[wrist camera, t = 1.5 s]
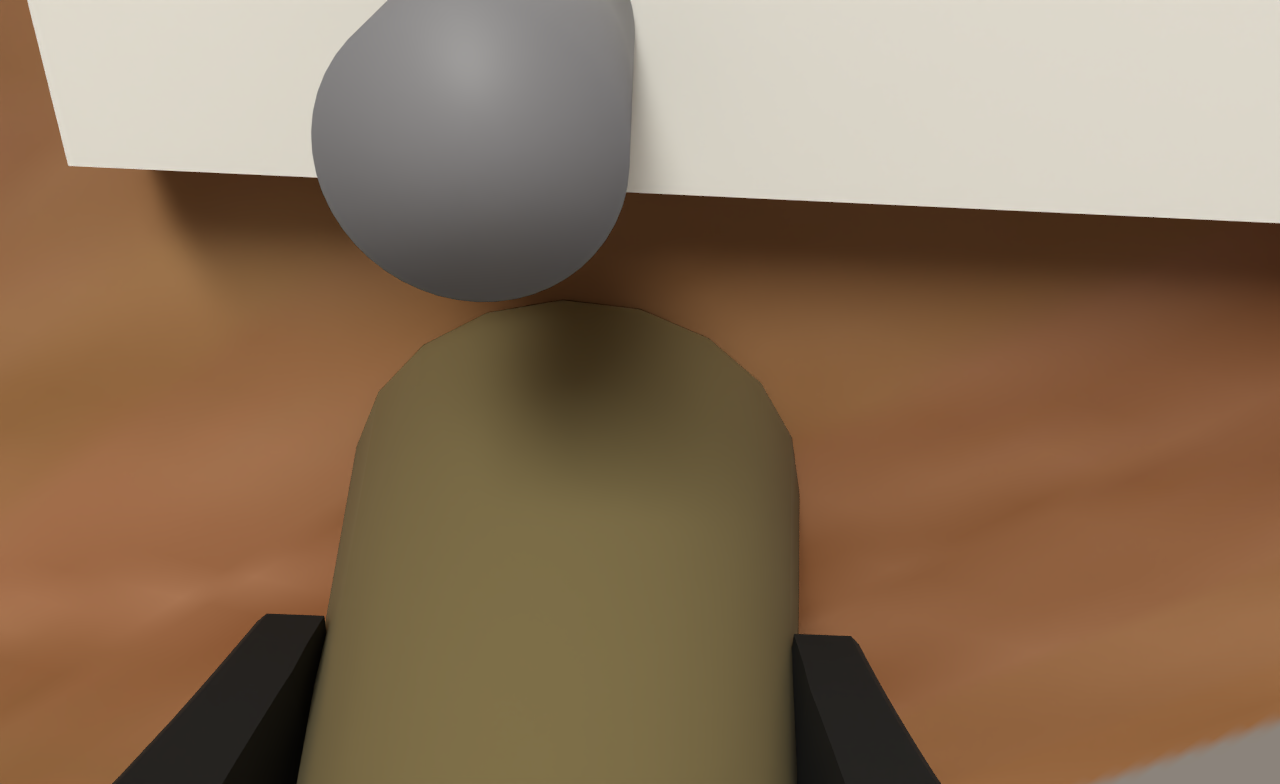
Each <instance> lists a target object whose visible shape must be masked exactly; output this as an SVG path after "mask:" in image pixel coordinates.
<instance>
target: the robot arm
mask: <svg viewBox="0 0 1280 784" xmlns="http://www.w3.org/2000/svg"><path fill="white" fill-rule="evenodd" d="M325 636H326V625H325V618H324V616H312V615H286V614H266V615H265V616H263V617H262V618H261V619H260V620H258V621H257V622H256V624H255V625H254V626H253V627H252V628H251V629H250V631H249V632H248V633H247V634H246V635H245V637H244V638H243V639H242V640H241V641H240V642H239V644H238V645H237V646H236V647H235V648H234V649H233V651H232V652H231V653H230V654H229V655H228V657H227V658H226V659H225V660H224V661H223V662H222V664H221V665H220V666H219V667H218V668H217V669H216V670H215V672H214V673H213V674H212V675H211V676H210V677H209V679H208V680H207V681H206V682H205V683H204V684H203V685H202V687H201V688H200V689H199V690H198V691H197V692H196V693H195V695H194V696H193V697H192V698H191V699H190V700H189V701H188V702H187V704H186V705H185V706H184V707H183V708H182V709H181V710H180V711H179V713H178V714H177V715H176V716H175V717H174V718H173V719H172V720H171V721H170V723H169V724H168V725H167V726H166V727H165V728H164V729H163V730H162V731H161V732H160V733H159V734H158V735H157V737H156V738H155V739H154V740H153V741H152V742H151V743H150V744H149V745H148V746H147V747H146V748H145V749H144V750H143V752H142V753H141V754H140V755H139V756H138V757H137V758H136V759H135V760H134V761H133V762H132V763H131V764H130V766H129V767H128V768H127V769H126V770H125V771H124V772H123V773H122V774H121V775H120V776H119V777H118V778H117V779H116V780H115V781H114V782H113V783H112V784H297V779H298V773H299V768H300V762H301V757H302V751H303V745H304V740H305V734H306V728H307V723H308V717H309V712H310V706H311V700H312V695H313V689H314V684H315V679H316V675H317V671H318V666H319V662H320V658H321V653H322V649H323V645H324V641H325ZM792 667H793V689H794V712H795V734H796V757H797V784H941V783H940V782H939V780H938V779H937V777H936V776H935V774H934V773H933V771H932V770H931V768H930V766H929V765H928V763H927V762H926V760H925V758H924V757H923V755H922V754H921V752H920V751H919V749H918V747H917V746H916V744H915V742H914V741H913V739H912V738H911V736H910V734H909V733H908V731H907V729H906V728H905V726H904V724H903V723H902V721H901V719H900V718H899V716H898V714H897V713H896V711H895V709H894V707H893V706H892V704H891V702H890V701H889V699H888V697H887V695H886V694H885V692H884V690H883V688H882V686H881V685H880V683H879V681H878V679H877V678H876V676H875V674H874V672H873V670H872V668H871V667H870V665H869V663H868V661H867V659H866V657H865V655H864V653H863V652H862V650H861V648H860V646H859V644H858V643H857V642H856V641H855V640H854V639H853V638H852V637H851V636H832V635H806V634H794V637H793V643H792Z"/></svg>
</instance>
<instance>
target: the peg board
mask: <svg viewBox="0 0 1280 784" xmlns="http://www.w3.org/2000/svg"><path fill="white" fill-rule="evenodd" d="M27 1H28V5H29V9H30V13H31V17H32V21H33V25H34V29H35V33H36V37H37V41H38V45H39V49H40V53H41V57H42V61H43V65H44V69H45V73H46V77H47V81H48V85H49V90H50V94H51V98H52V102H53V106H54V110H55V114H56V118H57V122H58V126H59V130H60V134H61V138H62V142H63V146H64V150H65V154H66V158H67V162H68V166H84V167H105V168H126V169H147V170H168V171H189V172H210V173H231V174H253V175H274V176H295V177H316V178H318V181H319V184H320V187H321V190H322V193H323V195H324V197H325V199H326V201H327V203H328V205H329V208H330V210H331V211H332V213H333V215H334V216H335V218H336V219H337V221H338V223H339V224H340V226H341V227H342V229H343V230H344V231H345V232H346V234H347V235H348V236H349V237H350V239H351V240H352V241H353V242H354V244H355V245H356V246H357V247H358V248H359V249H360V250H361V251H362V252H364V253H365V254H366V255H367V256H368V257H369V258H370V259H371V260H372V261H374V262H375V263H376V264H377V265H379V266H380V267H381V268H383V269H384V270H385V271H387V272H388V273H390V274H392V275H393V276H395V277H397V278H398V279H400V280H401V281H403V282H405V283H408V284H410V285H412V286H414V287H416V288H418V289H420V290H423V291H426V292H429V293H432V294H435V295H438V296H442V297H447V298H451V299H456V300H464V301H473V302H497V301H504V300H511V299H517V298H521V297H525V296H528V295H532V294H535V293H537V292H540V291H542V290H545V289H548V288H550V287H552V286H554V285H555V284H557V283H559V282H561V281H563V280H564V279H566V278H568V277H569V276H570V275H572V274H573V273H574V272H576V271H577V270H578V269H580V268H581V267H582V266H583V265H584V264H585V263H586V262H587V261H588V260H589V259H590V258H591V257H592V256H593V255H594V254H595V253H596V252H597V251H598V249H599V248H600V247H601V246H602V244H603V243H604V242H605V240H606V239H607V237H608V235H609V234H610V232H611V230H612V229H613V227H614V225H615V223H616V221H617V218H618V216H619V214H620V211H621V209H622V206H623V202H624V198H625V195H626V192H633V193H654V194H675V195H696V196H717V197H738V198H759V199H780V200H801V201H823V202H844V203H865V204H886V205H907V206H928V207H949V208H970V209H992V210H1013V211H1034V212H1055V213H1076V214H1097V215H1118V216H1139V217H1160V218H1182V219H1203V220H1224V221H1245V222H1266V223H1280V0H27Z"/></svg>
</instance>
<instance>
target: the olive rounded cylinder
mask: <svg viewBox="0 0 1280 784" xmlns="http://www.w3.org/2000/svg"><path fill="white" fill-rule="evenodd" d="M798 618H799V487H798V480H797V472H796V465H795V458H794V450H793V443H792V437H791V435H790V434H789V432H788V430H787V428H786V427H785V425H784V423H783V421H782V419H781V418H780V416H779V414H778V412H777V411H776V409H775V407H774V405H773V404H772V402H771V400H770V398H769V397H768V395H767V393H766V391H765V389H764V388H763V386H762V384H761V383H760V382H759V381H758V380H756V379H755V378H754V377H753V376H752V375H751V374H749V373H748V372H747V371H746V370H745V369H744V368H742V367H741V366H740V365H739V364H738V363H737V362H735V361H734V360H733V359H732V358H731V357H730V356H728V355H727V354H726V353H725V352H724V351H723V350H722V349H720V348H719V347H718V346H717V345H716V344H715V343H713V342H712V341H711V340H710V339H709V338H706V337H704V336H702V335H699V334H697V333H694V332H692V331H690V330H687V329H685V328H683V327H680V326H678V325H676V324H673V323H671V322H669V321H666V320H664V319H662V318H659V317H657V316H655V315H652V314H650V313H647V312H645V311H643V310H640V309H633V308H625V307H616V306H608V305H599V304H591V303H582V302H574V301H565V300H561V301H555V302H549V303H543V304H537V305H531V306H525V307H519V308H513V309H507V310H501V311H495V312H489V313H486V314H484V315H482V316H480V317H478V318H476V319H474V320H472V321H470V322H468V323H466V324H464V325H462V326H460V327H458V328H456V329H454V330H452V331H450V332H448V333H446V334H444V335H442V336H440V337H438V338H437V339H435V340H433V341H431V342H429V343H427V344H425V345H423V346H422V347H421V348H420V349H419V350H418V351H417V352H416V353H415V355H414V356H413V357H412V358H411V359H410V360H409V361H408V362H407V363H406V364H405V365H404V366H403V367H402V368H401V369H400V370H399V371H398V372H397V373H396V374H395V375H394V376H393V377H392V379H391V380H390V381H389V382H388V383H387V384H386V385H385V386H384V387H383V388H382V389H381V390H380V391H379V392H378V395H377V397H376V400H375V402H374V405H373V407H372V410H371V412H370V415H369V417H368V420H367V422H366V425H365V427H364V430H363V432H362V435H361V437H360V440H359V442H358V445H357V447H356V453H355V459H354V464H353V470H352V476H351V481H350V487H349V492H348V498H347V504H346V509H345V515H344V521H343V526H342V532H341V537H340V543H339V549H338V554H337V560H336V566H335V571H334V577H333V582H332V588H331V594H330V599H329V605H328V610H327V616H326V622H325V625H326V636H325V641H324V645H323V649H322V653H321V658H320V662H319V666H318V671H317V675H316V679H315V684H314V689H313V695H312V700H311V706H310V712H309V717H308V723H307V728H306V734H305V740H304V745H303V751H302V757H301V762H300V768H299V773H298V779H297V784H797V757H796V734H795V712H794V689H793V667H792V643H793V637H794V634H798Z"/></svg>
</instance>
